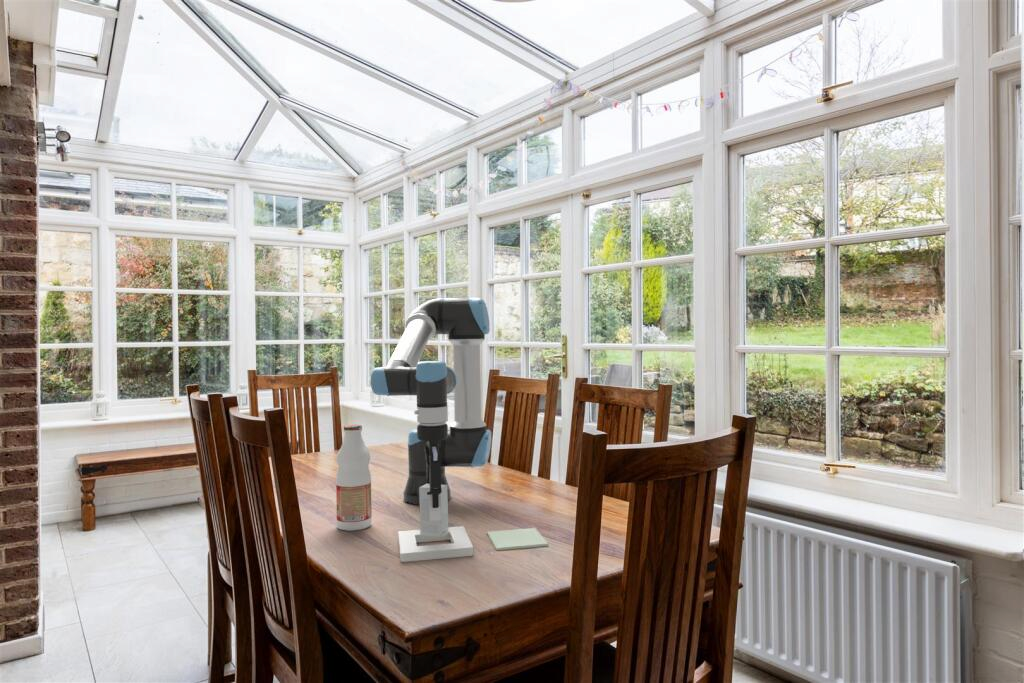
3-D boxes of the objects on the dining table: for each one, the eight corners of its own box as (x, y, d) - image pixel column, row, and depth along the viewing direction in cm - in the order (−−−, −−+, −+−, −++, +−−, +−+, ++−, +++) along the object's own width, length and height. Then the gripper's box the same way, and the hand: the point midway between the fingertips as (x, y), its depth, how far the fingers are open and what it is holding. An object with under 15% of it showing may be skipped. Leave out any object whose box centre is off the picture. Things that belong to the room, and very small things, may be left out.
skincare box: (449, 532, 153) (448, 484, 153) (441, 537, 149) (440, 489, 149) (427, 530, 155) (426, 483, 155) (419, 535, 151) (418, 487, 151)
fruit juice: (352, 533, 164) (350, 428, 164) (329, 527, 169) (328, 426, 169) (378, 524, 171) (377, 424, 171) (356, 519, 177) (354, 422, 177)
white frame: (398, 539, 159) (398, 531, 159) (463, 533, 162) (463, 526, 162) (400, 562, 142) (400, 553, 142) (473, 555, 146) (473, 547, 146)
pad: (487, 534, 162) (487, 531, 162) (535, 530, 164) (535, 527, 164) (496, 550, 149) (496, 548, 149) (548, 545, 152) (548, 543, 152)
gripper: (414, 418, 161) (416, 506, 161) (419, 430, 142) (421, 529, 142) (443, 417, 162) (444, 504, 163) (452, 428, 143) (453, 526, 144)
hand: (434, 515), depth 152 cm, fingers closed on skincare box, 6 cm apart
